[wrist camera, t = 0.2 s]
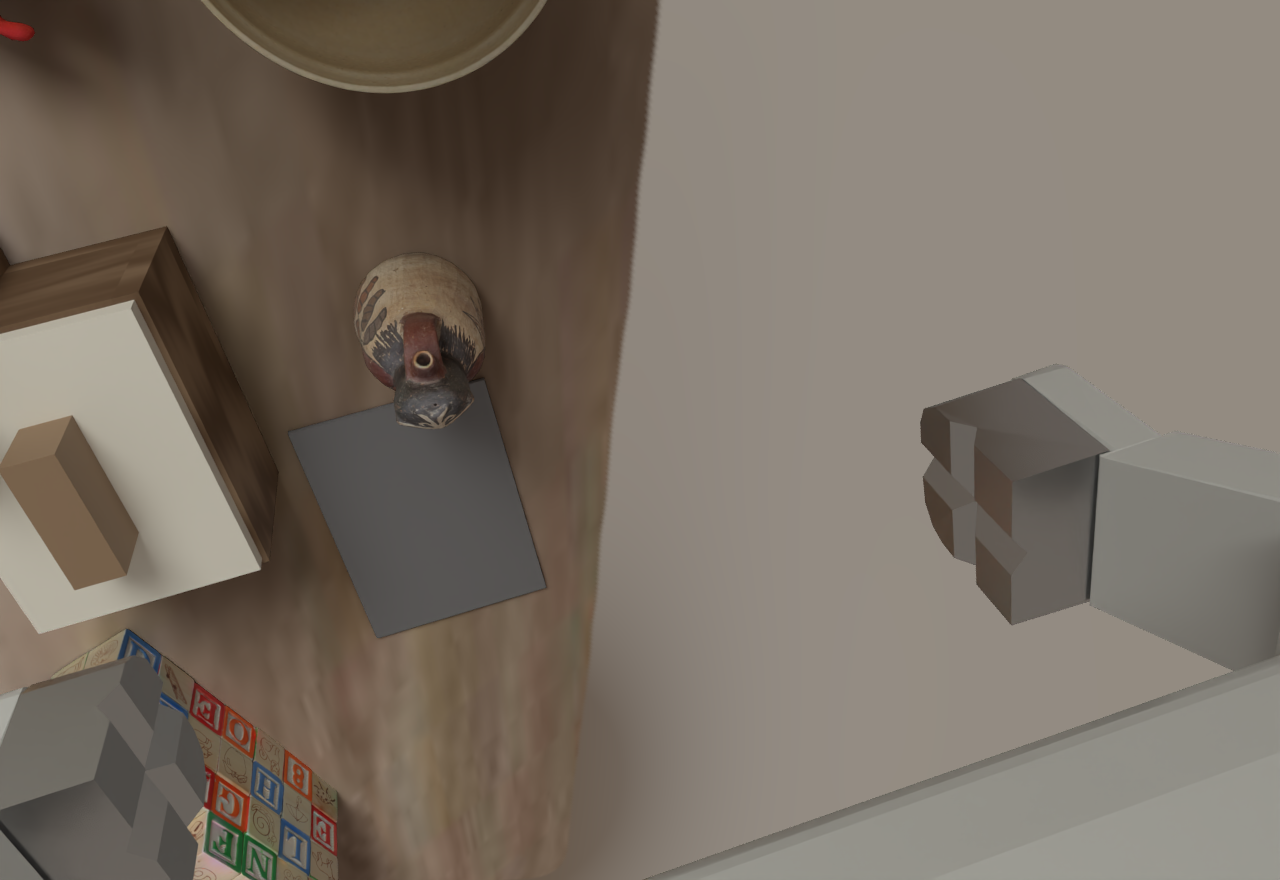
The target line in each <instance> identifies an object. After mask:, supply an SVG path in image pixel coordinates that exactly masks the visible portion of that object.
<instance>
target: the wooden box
mask: <svg viewBox="0 0 1280 880" xmlns="http://www.w3.org/2000/svg"><path fill="white" fill-rule="evenodd" d="M131 300H135V302H136V304H137V306H138V308H139V310H140V312H141V314H142V316H143V318H144V320H145V322H146V324H147V326H148V328H149V330H150V332H151V334H152V336H153V338H154V340H155V342H156V344H157V346H158V348H159V350H160V352H161V354H162V357H163V359H164V361H165V363H166V365H167V367H168V369H169V371H170V373H171V375H172V377H173V379H174V381H175V383H176V385H177V387H178V389H179V391H180V393H181V395H182V397H183V399H184V401H185V403H186V405H187V407H188V409H189V411H190V413H191V415H192V417H193V419H194V421H195V423H196V425H197V428H198V430H199V432H200V434H201V436H202V438H203V440H204V442H205V444H206V446H207V448H208V450H209V452H210V454H211V456H212V458H213V460H214V462H215V464H216V466H217V468H218V470H219V472H220V474H221V476H222V478H223V480H224V482H225V484H226V486H227V488H228V490H229V492H230V494H231V496H232V499H233V501H234V503H235V505H236V507H237V509H238V511H239V513H240V515H241V517H242V519H243V521H244V523H245V525H246V527H247V529H248V531H249V533H250V535H251V537H252V539H253V541H254V543H255V545H256V547H257V549H258V551H259V553H260V555H261V557H262V563H265V562H268V561H270V553H271V543H272V532H273V522H274V512H275V502H276V492H277V482H278V470H277V468H276V466H275V464H274V461H273V459H272V457H271V455H270V453H269V450H268V448H267V446H266V444H265V442H264V439H263V437H262V435H261V433H260V431H259V428H258V426H257V424H256V422H255V420H254V417H253V415H252V413H251V411H250V409H249V406H248V404H247V402H246V400H245V398H244V395H243V393H242V391H241V389H240V387H239V384H238V382H237V380H236V378H235V375H234V373H233V371H232V369H231V367H230V364H229V362H228V360H227V358H226V356H225V353H224V351H223V349H222V347H221V345H220V342H219V340H218V338H217V336H216V334H215V331H214V329H213V327H212V325H211V323H210V320H209V318H208V316H207V314H206V312H205V309H204V307H203V305H202V303H201V301H200V298H199V296H198V294H197V292H196V290H195V287H194V285H193V283H192V281H191V279H190V276H189V274H188V272H187V270H186V268H185V265H184V263H183V261H182V259H181V256H180V254H179V252H178V250H177V248H176V245H175V243H174V241H173V239H172V237H171V234H170V232H169V230H168V228H167V226H166V227H162V228H158V229H154V230H150V231H146V232H142V233H138V234H134V235H130V236H126V237H122V238H118V239H114V240H110V241H106V242H102V243H98V244H94V245H90V246H86V247H82V248H78V249H74V250H70V251H66V252H62V253H58V254H54V255H50V256H46V257H42V258H38V259H34V260H30V261H26V262H22V263H18V264H14V265H9V263H8V261H7V259H6V257H5V256H4V254H3V252H2V250H1V248H0V334H2V333H6V332H10V331H14V330H18V329H22V328H26V327H30V326H34V325H38V324H41V323H45V322H49V321H53V320H57V319H61V318H65V317H69V316H73V315H77V314H80V313H84V312H88V311H92V310H96V309H100V308H104V307H108V306H112V305H116V304H120V303H123V302H127V301H131Z"/></svg>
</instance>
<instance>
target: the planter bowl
mask: <svg viewBox="0 0 1280 880" xmlns="http://www.w3.org/2000/svg"><path fill="white" fill-rule="evenodd" d="M201 1H202V2H203V3H204V4H205V6H206V7H207V8H208V9H209V10H210V11H211V12H212V13H213V14H214V15H215V16H216V17H217V18H218V19H219V20H220V21H221V22H222V23H223V24H224V25H225V26H226V27H227V28H228V29H229V30H230V31H231V32H233V33H234V34H235V35H236V36H237V37H239V38H240V39H241V40H242V41H243V42H245V43H246V44H247V45H249V46H250V47H251V48H253V49H254V50H255V51H257V52H258V53H260V54H261V55H263V56H264V57H266V58H268V59H269V60H271V61H272V62H274V63H276V64H278V65H280V66H281V67H283V68H285V69H287V70H289V71H292V72H294V73H296V74H298V75H300V76H303V77H305V78H308V79H311V80H313V81H316V82H320V83H323V84H326V85H329V86H333V87H336V88H341V89H346V90H352V91H359V92H368V93H402V92H410V91H417V90H422V89H427V88H432V87H436V86H439V85H442V84H445V83H448V82H451V81H453V80H456V79H458V78H460V77H463V76H465V75H467V74H469V73H471V72H473V71H475V70H477V69H479V68H481V67H482V66H484V65H486V64H487V63H488V62H490V61H491V60H493V59H494V58H496V57H497V56H498V55H500V54H501V53H502V52H504V51H505V50H506V49H507V48H508V47H510V46H511V45H512V44H513V43H514V42H515V41H516V40H517V39H518V38H519V37H520V36H521V35H522V34H523V33H524V31H525V30H526V29H527V28H528V27H529V26H530V24H531V23H532V22H533V21H534V19H535V18H536V17H537V15H538V14H539V12H540V11H541V9H542V8H543V7H544V5H545V3H546V1H547V0H201Z"/></svg>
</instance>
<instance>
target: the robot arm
mask: <svg viewBox="0 0 1280 880" xmlns="http://www.w3.org/2000/svg"><path fill="white" fill-rule="evenodd" d="M920 424H921V443H922V444H923V445H924V446H925V447H926V448H927V449H928V450H929V451H930V452H931V454H932V455H933V456H934V459H933V460H932V462H931V464H930V465H929V467H928V469H927V471H926V473H925V474H924V476H923V482H924V494H925V503H926V506H927V509H928V512H929V515H930V518H931V522H932V525H933V527H934V529H935V531H936V532H937V534H938V536H939V538H940V539H941V541H942V543H943V544H944V546H945V547H946V548H947V549H948V550H949V552H950V553H951V554H952V555H953V557H954V558H956V559H959V560H962V561H965V562H968V563H971V564H973V565H976V583H977V585H978V587H979V588H980V589H981V590H982V591H983V593H984V594H985V595H986V596H987V597H988V598H989V600H990V601H991V602H992V603H993V604H994V605H995V607H996V608H997V609H998V610H999V611H1000V612H1001V614H1002V615H1003V616H1004V617H1005V618H1006V620H1007V621H1008V622H1009V623H1010V624H1011V625H1014V624H1017V623H1021V622H1024V621H1027V620H1030V619H1034V618H1037V617H1040V616H1044V615H1047V614H1050V613H1053V612H1056V611H1060V610H1062V609H1066V608H1069V607H1073V606H1076V605H1079V604H1082V603H1086V602H1089V601H1090V606H1093V607H1095V608H1097V609H1099V610H1101V611H1104V612H1106V613H1108V614H1110V615H1112V616H1114V617H1117V618H1119V619H1121V620H1123V621H1125V622H1128V623H1130V624H1132V625H1134V626H1136V627H1139V628H1141V629H1143V630H1145V631H1148V632H1150V633H1152V634H1154V635H1156V636H1158V637H1160V638H1163V639H1165V640H1167V641H1169V642H1172V643H1174V644H1176V645H1178V646H1180V647H1182V648H1185V649H1187V650H1189V651H1191V652H1193V653H1196V654H1198V655H1200V656H1202V657H1204V658H1207V659H1209V660H1211V661H1213V662H1215V663H1218V664H1220V665H1222V666H1224V667H1226V668H1228V669H1231V670H1233V672H1230V673H1227V674H1225V675H1222V676H1219V677H1216V678H1213V679H1210V680H1208V681H1205V682H1202V683H1199V684H1196V685H1193V686H1191V687H1188V688H1185V689H1182V690H1179V691H1177V692H1174V693H1171V694H1168V695H1166V696H1162V697H1160V698H1157V699H1154V700H1151V701H1148V702H1146V703H1143V704H1140V705H1137V706H1135V707H1132V708H1129V709H1126V710H1123V711H1120V712H1117V713H1115V714H1112V715H1109V716H1107V717H1103V718H1101V719H1098V720H1095V721H1092V722H1089V723H1086V724H1084V725H1081V726H1078V727H1075V728H1072V729H1070V730H1067V731H1064V732H1061V733H1058V734H1056V735H1053V736H1050V737H1047V738H1044V739H1041V740H1038V741H1036V742H1033V743H1030V744H1027V745H1024V746H1021V747H1019V748H1016V749H1013V750H1010V751H1007V752H1004V753H1001V754H999V755H996V756H993V757H990V758H987V759H984V760H982V761H979V762H976V763H973V764H970V765H968V766H964V767H962V768H959V769H956V770H953V771H950V772H948V773H944V774H942V775H939V776H936V777H933V778H930V779H927V780H925V781H922V782H919V783H916V784H913V785H910V786H908V787H905V788H902V789H899V790H896V791H893V792H890V793H888V794H885V795H882V796H879V797H876V798H873V799H870V800H868V801H865V802H862V803H859V804H856V805H853V806H851V807H848V808H845V809H842V810H839V811H836V812H833V813H831V814H828V815H825V816H822V817H820V818H816V819H813V820H811V821H808V822H805V823H802V824H799V825H796V826H794V827H791V828H788V829H785V830H782V831H779V832H777V833H774V834H771V835H768V836H765V837H762V838H759V839H757V840H754V841H751V842H748V843H746V844H742V845H740V846H737V847H734V848H731V849H729V850H725V851H723V852H720V853H717V854H714V855H711V856H709V857H706V858H703V859H700V860H697V861H694V862H692V863H689V864H686V865H683V866H680V867H677V868H675V869H672V870H669V871H666V872H663V873H660V874H658V875H655V876H652V877H649V878H646V879H644V880H1280V453H1278V452H1274V451H1269V450H1264V449H1259V448H1254V447H1250V446H1245V445H1240V444H1235V443H1231V442H1226V441H1221V440H1217V439H1212V438H1207V437H1202V436H1197V435H1192V434H1188V433H1183V432H1178V431H1174V432H1171V433H1167V434H1164V435H1161V434H1159V433H1158V432H1157V431H1155V430H1154V429H1153V428H1151V427H1150V426H1149V425H1147V424H1146V423H1145V422H1143V421H1142V420H1140V419H1139V418H1138V417H1136V416H1135V415H1134V414H1132V413H1131V412H1130V411H1128V410H1127V409H1125V408H1124V407H1123V406H1121V405H1120V404H1119V403H1117V402H1116V401H1114V400H1113V399H1112V398H1110V397H1109V396H1108V395H1106V394H1105V393H1104V392H1102V391H1101V390H1100V389H1098V388H1097V387H1095V386H1094V385H1093V384H1091V383H1090V382H1089V381H1087V380H1086V379H1085V378H1083V377H1082V376H1080V375H1079V374H1078V373H1076V372H1075V371H1074V370H1072V369H1071V368H1070V367H1068V366H1064V365H1059V364H1053V365H1051V366H1048V367H1045V368H1042V369H1039V370H1036V371H1033V372H1030V373H1027V374H1025V375H1022V376H1019V377H1016V378H1013V379H1012V380H1011V381H1009V382H1006V383H1003V384H999V385H996V386H993V387H990V388H987V389H984V390H981V391H977V392H974V393H971V394H968V395H965V396H962V397H959V398H956V399H953V400H949V401H946V402H943V403H941V404H938V405H934V406H931V407H928V408H925V409H924V410H923V414H922V418H921V422H920ZM162 687H163V681H162V680H161V678H160V677H159V676H158V674H157V673H156V671H155V670H154V669H153V667H152V666H151V664H150V663H149V662H148V660H147V659H145V658H142V657H138V656H135V655H132V656H129V657H126V658H122V659H119V660H115V661H112V662H108V663H105V664H101V665H98V666H95V667H91V668H88V669H84V670H81V671H77V672H74V673H71V674H67V675H64V676H60V677H57V678H53V679H50V680H47V681H43V682H40V683H36V684H33V685H31V686H30V687H23V688H20V689H17V690H13V691H10V692H7V693H4V694H1V695H0V880H193V877H194V870H195V864H196V857H197V850H198V843H197V841H196V840H195V838H194V837H193V836H192V834H191V833H190V831H189V830H188V828H187V827H188V826H189V824H190V823H191V822H192V820H193V819H194V818H195V817H196V815H197V814H198V813H199V811H200V810H201V809H202V807H203V806H204V801H205V792H206V784H207V779H206V771H205V764H204V756H203V751H202V749H201V746H200V743H199V741H198V738H197V736H196V733H195V731H194V729H193V728H192V726H191V724H190V723H189V721H188V720H187V718H186V716H185V715H184V713H181V712H179V711H176V710H174V709H171V708H169V707H166V706H164V705H162V704H159V702H160V697H161V692H162Z"/></svg>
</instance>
